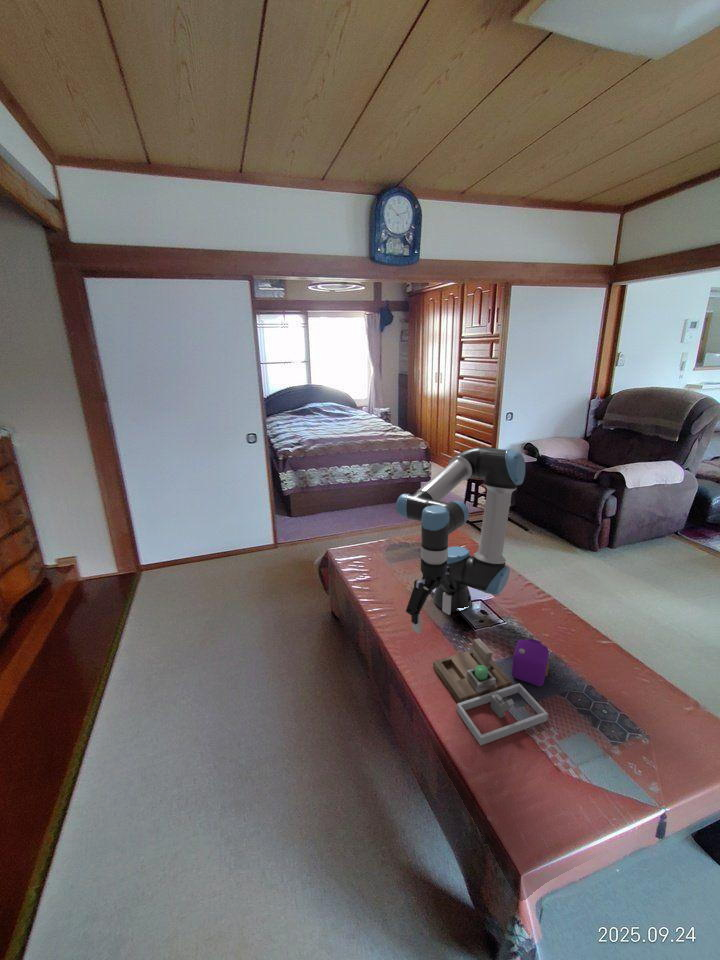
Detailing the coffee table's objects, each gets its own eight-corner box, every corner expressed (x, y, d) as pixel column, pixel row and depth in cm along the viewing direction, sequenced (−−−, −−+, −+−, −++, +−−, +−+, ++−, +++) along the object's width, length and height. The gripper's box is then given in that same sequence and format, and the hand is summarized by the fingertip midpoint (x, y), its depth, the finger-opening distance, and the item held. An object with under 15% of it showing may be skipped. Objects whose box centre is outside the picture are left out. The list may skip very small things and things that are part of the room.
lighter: (490, 707, 118) (491, 685, 115) (494, 705, 118) (496, 683, 116) (507, 726, 111) (509, 704, 109) (512, 724, 112) (514, 701, 110)
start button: (482, 672, 125) (483, 663, 124) (489, 681, 122) (490, 671, 120) (472, 676, 124) (472, 666, 123) (479, 684, 120) (480, 675, 119)
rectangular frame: (518, 689, 123) (519, 683, 123) (547, 720, 113) (548, 713, 112) (456, 710, 117) (456, 703, 116) (480, 745, 106) (480, 738, 106)
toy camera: (545, 659, 135) (548, 634, 132) (549, 691, 123) (553, 663, 120) (511, 652, 138) (513, 628, 135) (511, 682, 126) (514, 656, 123)
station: (480, 653, 138) (481, 632, 136) (511, 688, 124) (513, 665, 121) (433, 667, 133) (433, 645, 130) (459, 705, 118) (461, 682, 116)
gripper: (451, 541, 127) (448, 600, 134) (393, 568, 112) (393, 633, 119) (471, 549, 122) (467, 610, 128) (413, 579, 107) (412, 646, 113)
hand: (431, 621), depth 123 cm, fingers open, 13 cm apart
